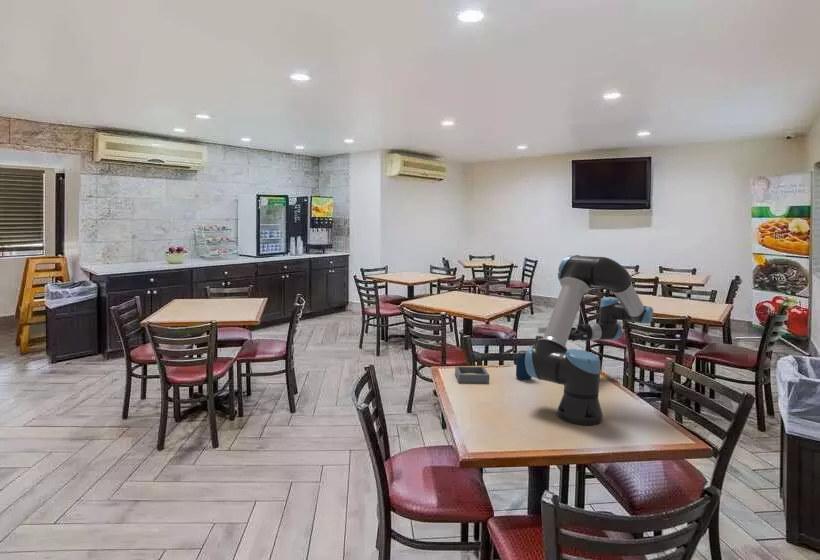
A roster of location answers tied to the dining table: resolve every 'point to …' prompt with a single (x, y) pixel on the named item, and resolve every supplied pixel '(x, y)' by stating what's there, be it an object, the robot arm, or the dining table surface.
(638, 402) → the dining table surface
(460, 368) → the drink tray
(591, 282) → the robot arm
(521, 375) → the soda can
